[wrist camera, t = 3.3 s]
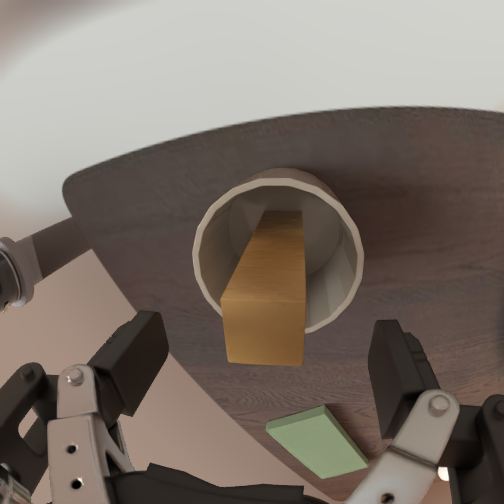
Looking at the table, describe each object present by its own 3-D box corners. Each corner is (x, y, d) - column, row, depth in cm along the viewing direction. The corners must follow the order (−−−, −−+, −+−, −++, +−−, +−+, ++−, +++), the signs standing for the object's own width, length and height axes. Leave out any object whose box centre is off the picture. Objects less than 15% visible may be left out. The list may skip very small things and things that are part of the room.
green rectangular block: (266, 421, 33) (265, 430, 31) (324, 404, 30) (324, 413, 29) (322, 472, 37) (321, 479, 35) (367, 459, 34) (368, 466, 33)
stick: (265, 246, 24) (227, 362, 11) (264, 210, 23) (219, 299, 10) (302, 246, 24) (302, 366, 11) (302, 210, 23) (306, 301, 10)
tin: (229, 280, 26) (203, 333, 19) (220, 169, 23) (184, 182, 15) (340, 282, 25) (353, 337, 17) (344, 167, 21) (368, 179, 14)
